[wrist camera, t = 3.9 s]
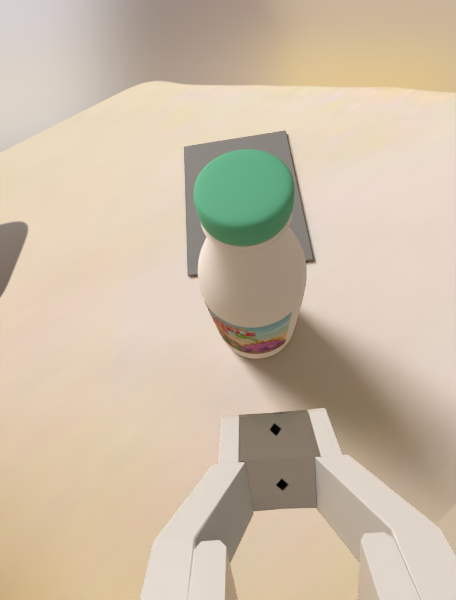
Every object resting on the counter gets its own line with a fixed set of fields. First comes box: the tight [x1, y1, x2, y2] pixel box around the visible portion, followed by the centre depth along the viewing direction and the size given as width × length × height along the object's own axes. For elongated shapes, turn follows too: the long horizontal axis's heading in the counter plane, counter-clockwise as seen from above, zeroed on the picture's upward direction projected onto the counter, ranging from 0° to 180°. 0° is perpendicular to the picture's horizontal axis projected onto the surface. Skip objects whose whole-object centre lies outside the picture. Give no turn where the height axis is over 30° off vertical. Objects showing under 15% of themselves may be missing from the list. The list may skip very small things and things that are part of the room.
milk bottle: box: [193, 149, 306, 359], centre depth 23 cm, size 8×8×20 cm
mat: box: [184, 131, 313, 276], centre depth 38 cm, size 20×14×1 cm
